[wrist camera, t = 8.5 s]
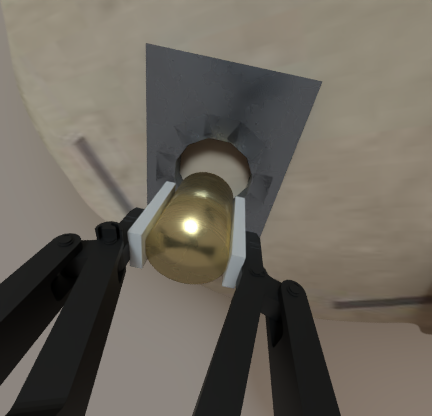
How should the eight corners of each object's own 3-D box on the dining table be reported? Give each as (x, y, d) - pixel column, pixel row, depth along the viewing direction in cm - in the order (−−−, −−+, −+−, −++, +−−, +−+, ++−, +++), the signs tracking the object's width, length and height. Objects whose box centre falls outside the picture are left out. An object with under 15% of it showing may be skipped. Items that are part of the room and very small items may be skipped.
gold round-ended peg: (179, 166, 16) (143, 212, 10) (239, 179, 16) (237, 233, 10) (175, 215, 19) (145, 274, 13) (226, 226, 19) (219, 290, 13)
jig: (155, 46, 17) (126, 35, 13) (314, 81, 17) (337, 81, 13) (153, 226, 28) (137, 251, 24) (250, 247, 28) (252, 276, 24)
